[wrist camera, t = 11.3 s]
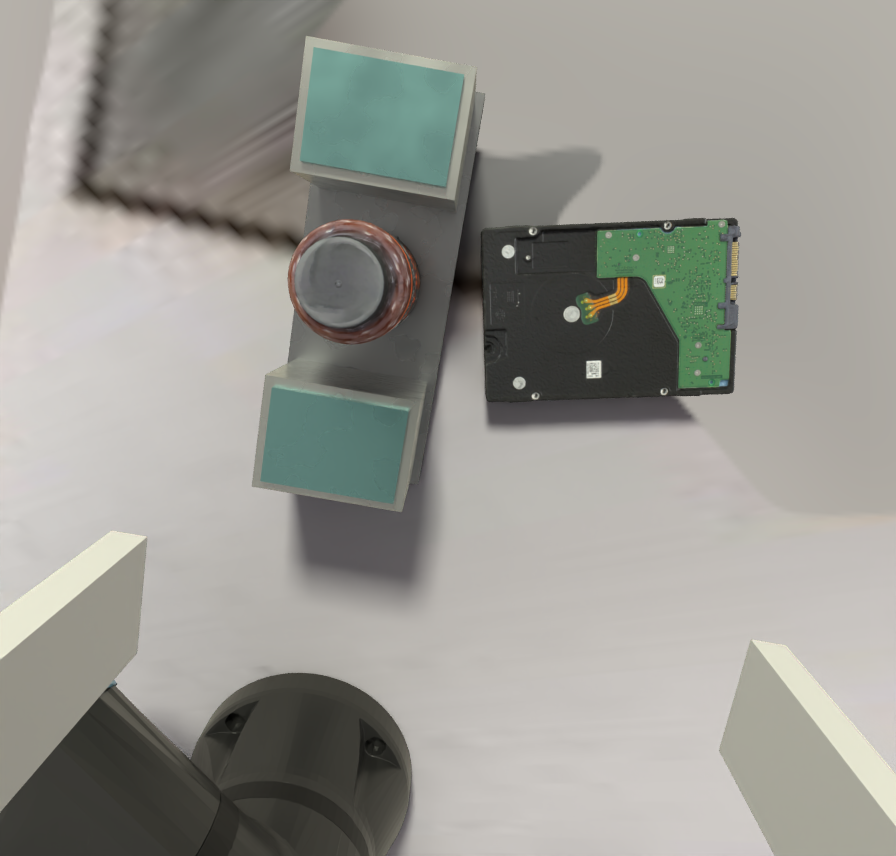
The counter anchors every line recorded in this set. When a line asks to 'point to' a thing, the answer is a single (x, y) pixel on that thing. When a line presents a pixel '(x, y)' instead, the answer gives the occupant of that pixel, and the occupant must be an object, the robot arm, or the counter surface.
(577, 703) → the counter surface
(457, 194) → the rail
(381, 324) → the supplement bottle
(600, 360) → the disk drive
